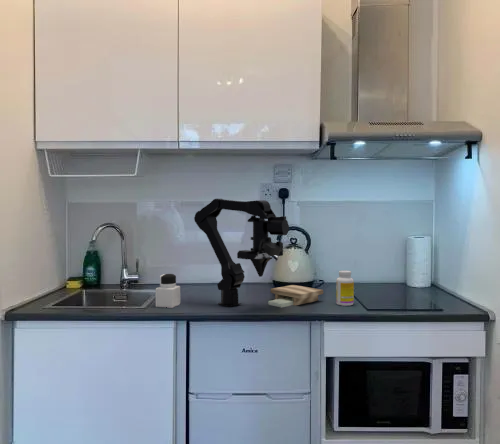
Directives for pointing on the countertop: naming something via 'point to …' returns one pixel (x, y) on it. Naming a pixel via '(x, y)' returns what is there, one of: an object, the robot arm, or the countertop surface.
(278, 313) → the countertop surface
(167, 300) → the medicine bottle
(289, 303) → the sage plate
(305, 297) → the overhang
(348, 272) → the supplement bottle
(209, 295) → the countertop surface
